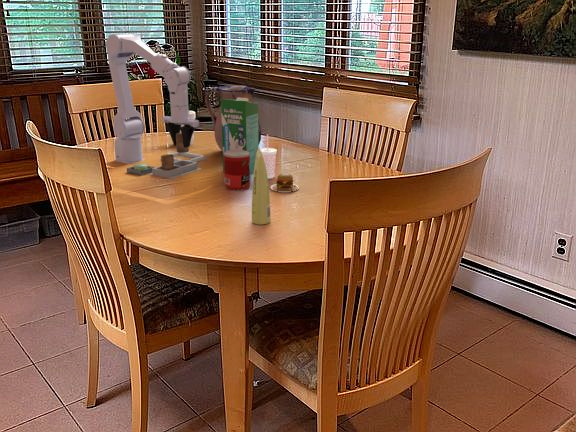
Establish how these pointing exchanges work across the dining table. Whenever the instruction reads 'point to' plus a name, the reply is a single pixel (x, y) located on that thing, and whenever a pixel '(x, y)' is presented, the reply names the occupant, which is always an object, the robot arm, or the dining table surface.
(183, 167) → the grey rectangular tray
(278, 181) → the hamburger
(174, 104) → the robot arm
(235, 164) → the canned food
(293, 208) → the dining table surface
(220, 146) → the ceramic pitcher
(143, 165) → the button
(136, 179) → the dining table surface
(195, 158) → the white shallow tray
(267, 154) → the beverage cup
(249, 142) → the milk carton
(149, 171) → the button housing
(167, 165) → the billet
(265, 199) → the tube
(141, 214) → the dining table surface
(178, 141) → the cylinder
